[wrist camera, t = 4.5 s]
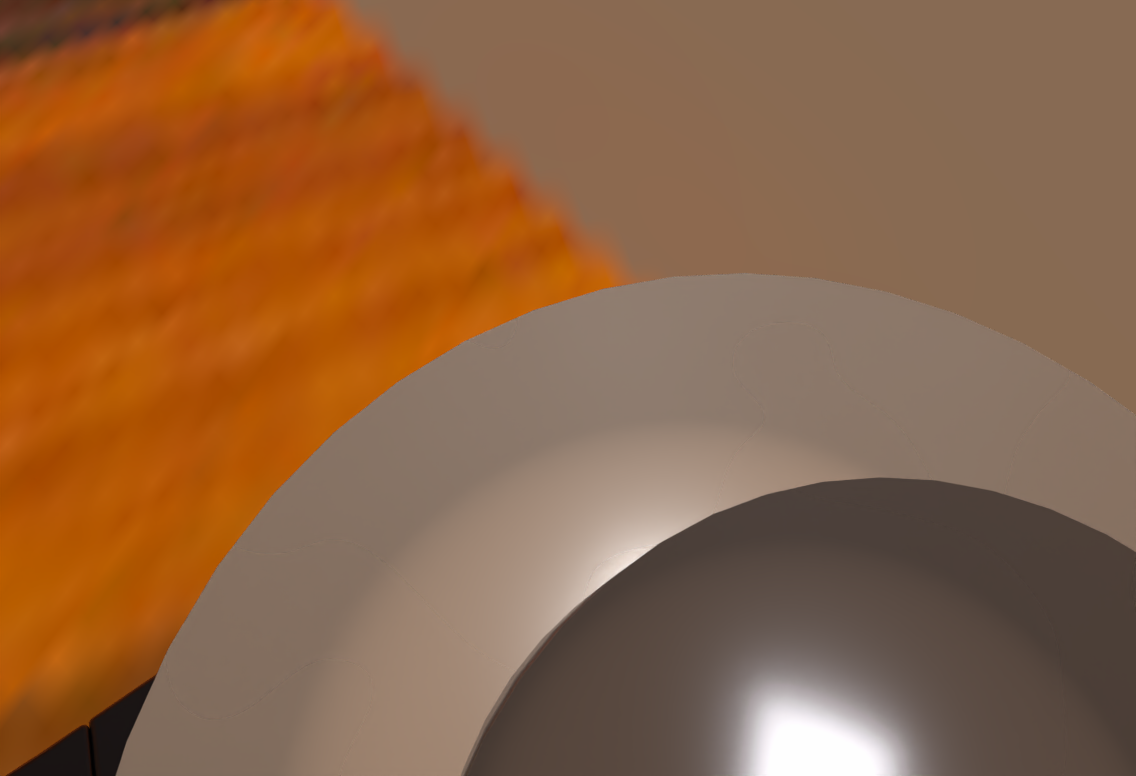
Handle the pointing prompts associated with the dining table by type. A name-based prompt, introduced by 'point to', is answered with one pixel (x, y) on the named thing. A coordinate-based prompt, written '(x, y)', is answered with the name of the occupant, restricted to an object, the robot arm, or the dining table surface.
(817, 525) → the metal water bottle
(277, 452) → the dining table surface
